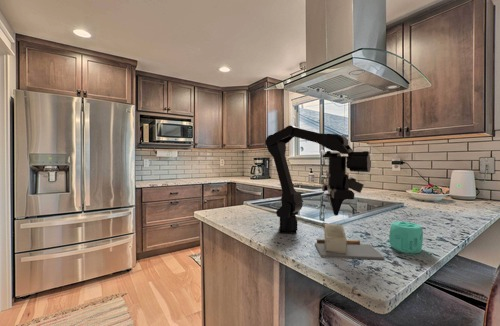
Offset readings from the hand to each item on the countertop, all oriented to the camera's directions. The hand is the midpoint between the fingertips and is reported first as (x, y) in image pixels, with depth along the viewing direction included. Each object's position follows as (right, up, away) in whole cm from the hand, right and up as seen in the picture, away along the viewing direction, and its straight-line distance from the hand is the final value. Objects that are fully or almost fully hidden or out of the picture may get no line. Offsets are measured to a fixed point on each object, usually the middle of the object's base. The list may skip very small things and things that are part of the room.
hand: (335, 215), depth 83 cm
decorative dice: (+21, -10, -6) cm, 24 cm away
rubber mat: (0, -10, -8) cm, 13 cm away
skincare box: (0, -5, +1) cm, 5 cm away
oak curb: (0, -9, -2) cm, 10 cm away
